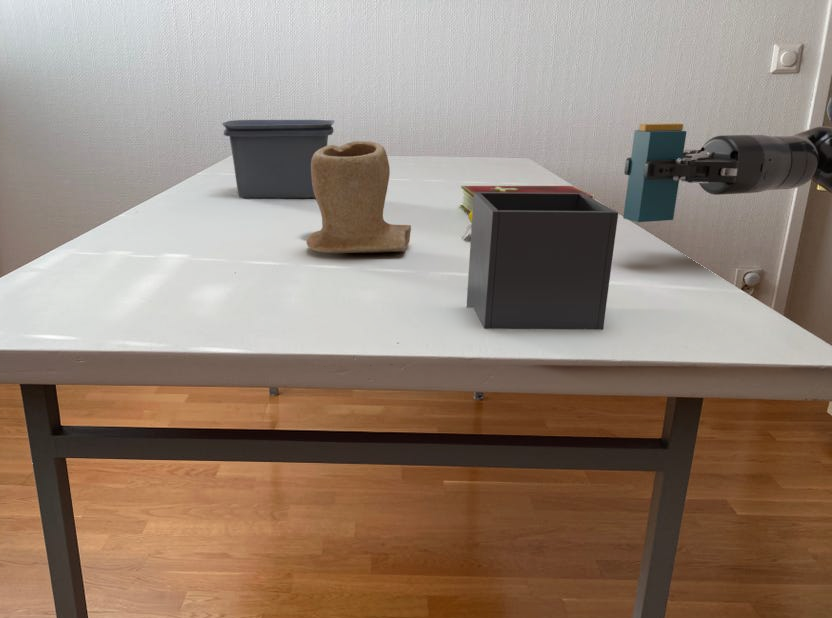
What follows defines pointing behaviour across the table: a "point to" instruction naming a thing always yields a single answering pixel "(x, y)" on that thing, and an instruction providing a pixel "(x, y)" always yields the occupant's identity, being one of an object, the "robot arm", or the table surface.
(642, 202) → the block
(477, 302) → the trash bin
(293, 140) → the storage bin
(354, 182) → the stone cup
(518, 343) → the table surface
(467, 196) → the hardcover book
